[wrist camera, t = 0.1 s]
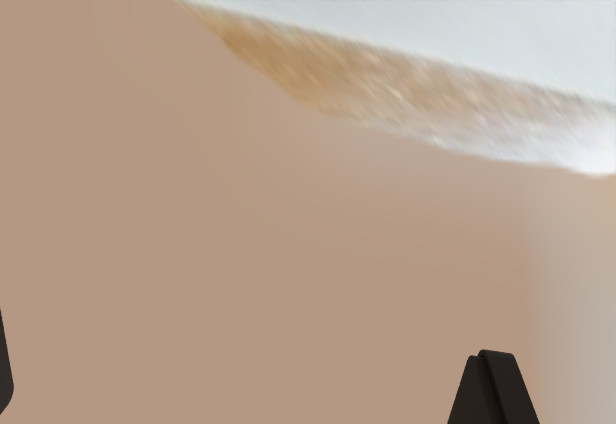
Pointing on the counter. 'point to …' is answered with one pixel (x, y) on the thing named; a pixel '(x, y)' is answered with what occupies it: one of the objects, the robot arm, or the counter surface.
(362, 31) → the counter surface
